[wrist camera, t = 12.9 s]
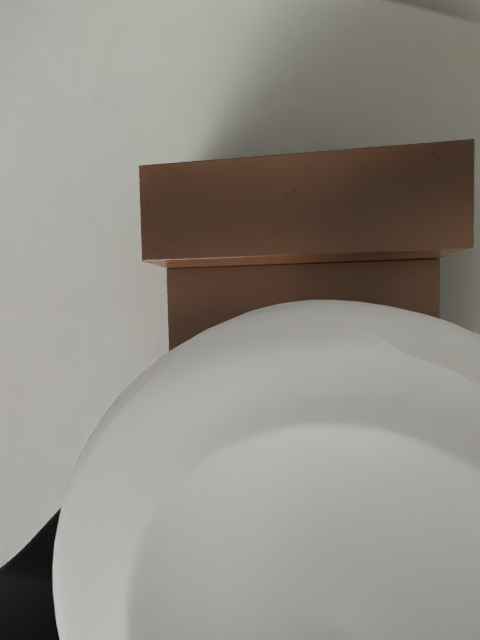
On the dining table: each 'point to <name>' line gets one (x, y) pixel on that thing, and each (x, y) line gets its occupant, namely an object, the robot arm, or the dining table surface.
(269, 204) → the walnut step shelf
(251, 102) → the dining table surface
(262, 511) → the sprinkles bottle
